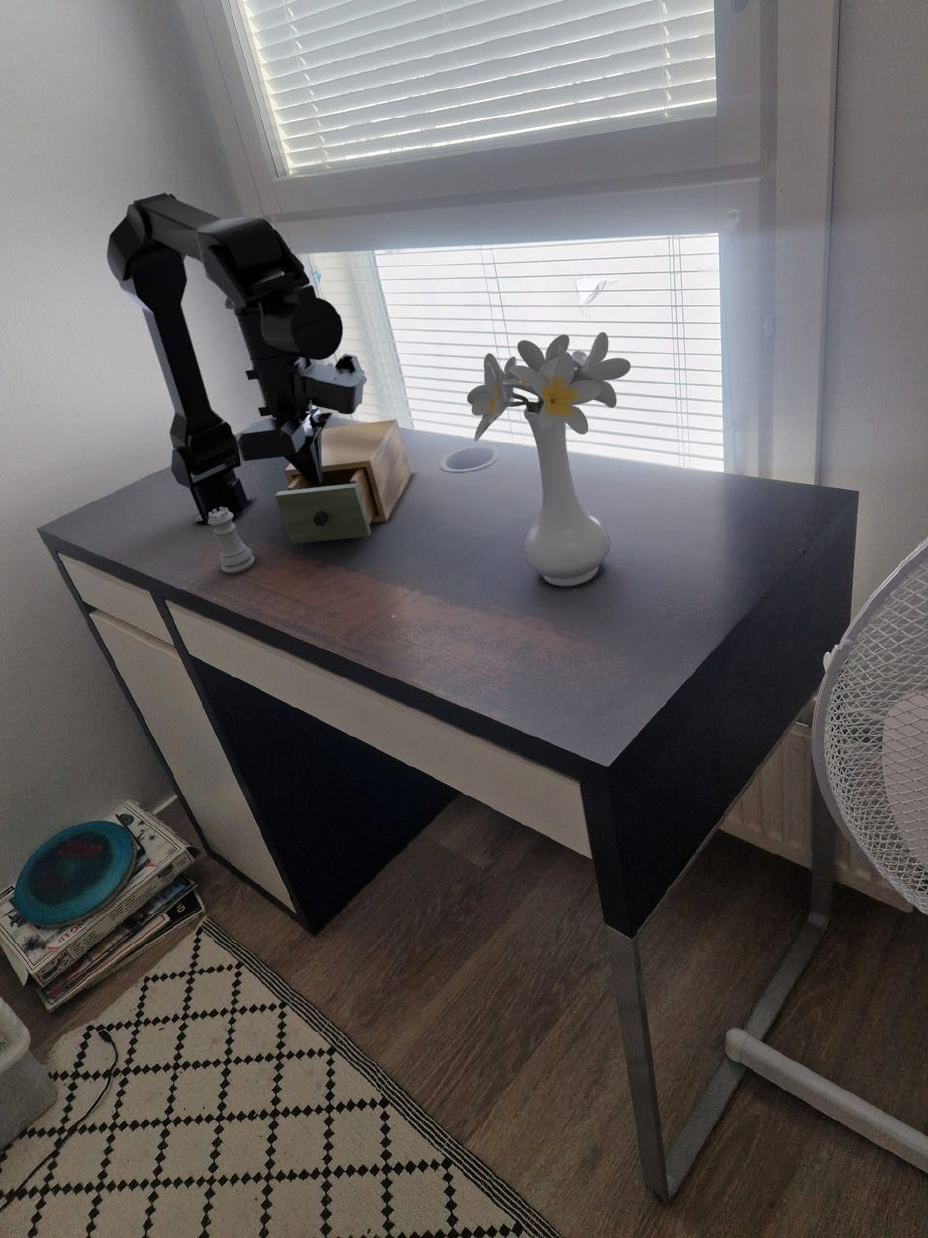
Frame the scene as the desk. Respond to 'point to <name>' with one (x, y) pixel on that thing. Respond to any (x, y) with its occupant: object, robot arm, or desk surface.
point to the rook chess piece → (230, 543)
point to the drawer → (328, 506)
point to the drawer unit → (367, 459)
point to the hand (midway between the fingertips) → (316, 483)
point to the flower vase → (555, 445)
